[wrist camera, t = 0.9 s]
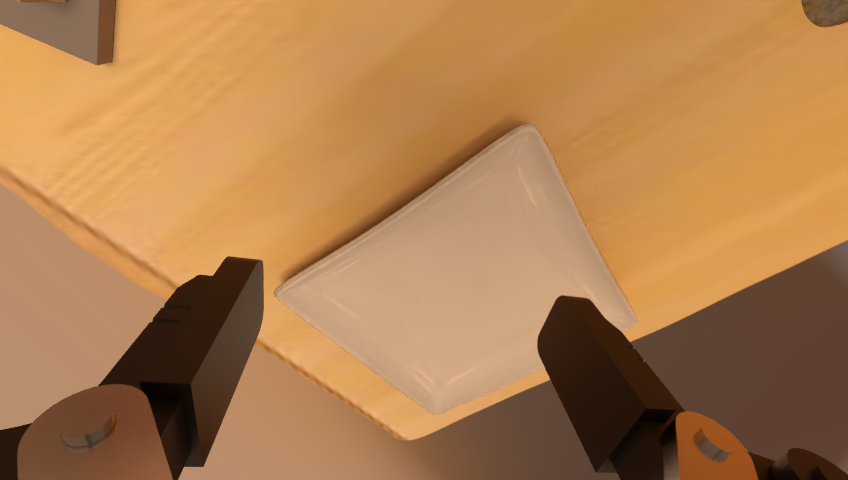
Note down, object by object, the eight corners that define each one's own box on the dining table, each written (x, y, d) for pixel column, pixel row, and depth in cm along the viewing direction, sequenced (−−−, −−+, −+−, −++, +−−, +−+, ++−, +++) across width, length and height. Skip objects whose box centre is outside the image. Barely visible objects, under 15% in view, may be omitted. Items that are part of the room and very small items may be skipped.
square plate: (518, 104, 28) (534, 117, 25) (623, 301, 41) (642, 327, 38) (277, 272, 35) (266, 299, 32) (432, 394, 49) (435, 422, 46)
